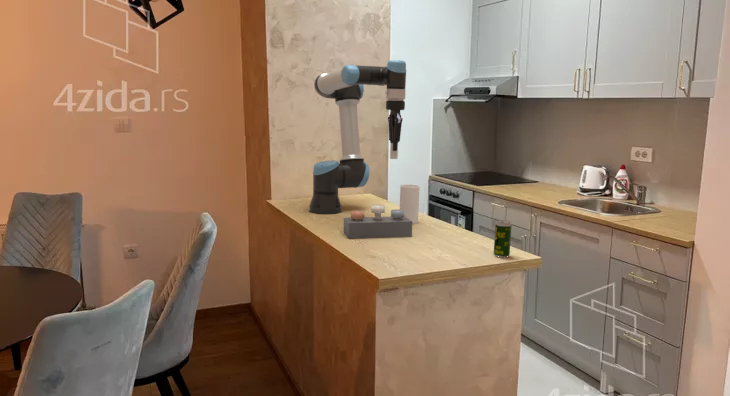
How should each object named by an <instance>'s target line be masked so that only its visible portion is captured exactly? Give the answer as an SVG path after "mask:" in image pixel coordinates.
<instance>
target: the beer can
mask: <svg viewBox="0 0 730 396" xmlns="http://www.w3.org/2000/svg"><path fill="white" fill-rule="evenodd" d="M494 225H495V226H494V240H493V242H494V243H493V255H495V256H499V257H507V256H509V257H510V253H511V241H512V240H511V239H512V236H511V235H512V222H511V221H510V220H504V219H503V220H501V219H500V220H496V221H495V224H494ZM495 256H494V257H495ZM499 257H498V258H499ZM507 258H508V257H507Z"/></svg>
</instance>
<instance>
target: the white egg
mask: <svg viewBox="0 0 730 396" xmlns="http://www.w3.org/2000/svg"><path fill="white" fill-rule="evenodd" d="M370 207H371V208H370V209H371V210H370V211H371V213H373V214H374V217H375V220H381V217H382V214H384V213H385V211H386V206H385V205H383V204H372V205H371V206H370Z"/></svg>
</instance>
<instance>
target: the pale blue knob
mask: <svg viewBox="0 0 730 396" xmlns="http://www.w3.org/2000/svg"><path fill="white" fill-rule="evenodd" d="M390 217H393V218H394V220H401V218H403V217H404V210H400V208H399V209H398V208H397V209H395V208H394V209H391V210H390Z"/></svg>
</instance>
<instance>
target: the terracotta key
mask: <svg viewBox="0 0 730 396" xmlns="http://www.w3.org/2000/svg"><path fill="white" fill-rule="evenodd" d="M365 213H366V212H365V210H360V209H355V210H351V211H350V218H353V219H355V221H361V219H364V217H366V216H365V215H366V214H365Z"/></svg>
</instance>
